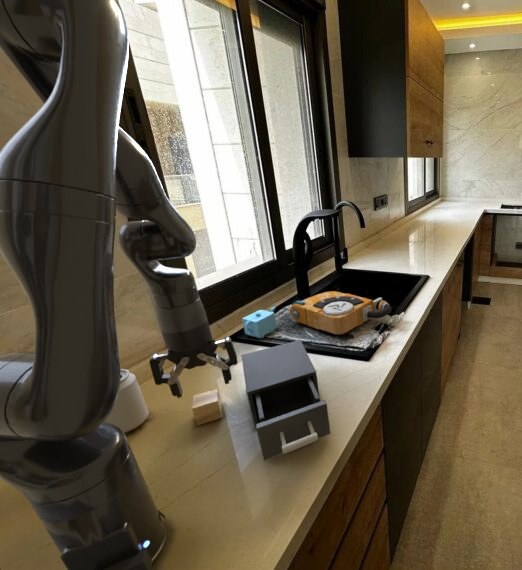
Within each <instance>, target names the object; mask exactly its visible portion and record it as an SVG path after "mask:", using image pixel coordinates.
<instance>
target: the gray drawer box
mask: <svg viewBox="0 0 522 570" xmlns="http://www.w3.org/2000/svg"><path fill="white" fill-rule="evenodd" d="M240 357H241V362H242V368H243V375H244V382H245V390H246V395H247V399H248V404H249V407H250V412H251V416H252V421H253V425H254V428H255V430H257V429H256V424H258V423H260V419H259V414H258V408H257V403H256V397H255V393H258V392H261V391H264V390H268V389H271V388H274V387H277V386H280V385H284V384H287V383H290V382H293V381H296V380H300V379H303V378H306V377H309V376H310V377H311V380H312V382H313V384H314V386H315V389H316V391H317V393H318V395H319V398H320V399H321V397H320V390H319V384H318V377H317V376H318V375H317V370H316V369H315V366H314V364H313V362H312V360H311V357H310V356H309V354H308V352H307V350H306V348H305V345H304V344H303V342H302V340H301V339H298V340H295V341H291V342H286V343H283V344H279V345H275V346H271V347H266V348H263V349H259V350H255V351H251V352H247V353H243V354H241V355H240Z"/></svg>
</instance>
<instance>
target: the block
mask: <svg viewBox="0 0 522 570" xmlns="http://www.w3.org/2000/svg"><path fill="white" fill-rule="evenodd" d="M191 411H192V413H193V416H194V420H195V422H196V425H197V426H200V425H204V424H207V423H210V422H213V421H216V420H219V419H221V418H223V404H222V400H221V397H220V394H219V389H218V388H215V389H211V390H208V391H205V392H202V393H197V394H194V395H193V396H192V403H191Z"/></svg>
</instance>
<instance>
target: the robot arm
mask: <svg viewBox="0 0 522 570" xmlns="http://www.w3.org/2000/svg"><path fill="white" fill-rule="evenodd" d="M129 46H130V45H129V33H128V26H127V21H126V18H125V15H124V12H123V9H122V7H121V5H120V2H119V0H0V50H1V51H2V52H3V54H4V55H5V56H6V58H7V59H8V60H9V61H10V62H11V64H12V65H13V66H14V68H15V69H16V71H18V73H19V74H20V75H21V77H22V78H23V79H24V80H25V82H26V83H27V84H28V86H29V87H30V89H31V90H32V91H33V92H34V94H35V95H36V96H37V97H38V99H39V100H40V101H41V102H42V106H41V107H40V108H39V109H38V110H37V111H36V112H35V114H33V115H32V116H31V117H30V118H29V119H28V120H27V121H26V122H25V123H24V124H23V125H22V127H20V128H19V129H18V130H17V131H16V132H15V133H14V134H13V135H12V137H10V138H9V140H7V142H6V143H5V144H4V145H3V147H2V148H1V149H0V255H1V256H2V257H3V259H4V261H5V262H6V264H7V266H8V267H9V269H10V270H11V272H12V273H13V276H14V277H15V278H16V281H18V283H19V285H20V287H21V288H22V290H23V292H24V294H25V295H26V297H27V299H28V301H29V304H30V307H31V311H32V317H33V323H34V348H33V349H34V350H30V351H29V350H28V351H27V350H26V351H18V352H12V353H7V354H4V355H1V356H0V480H2V481H3V482H4V483H6V484H8V485H10V486H11V487H13V488H15V489H17V490H18V491H20V492H21V493H22V494H23V495H24V497H25V499H26V500H27V501H28V503H29V504H30V505H31V507H32V509H33V510H34V513H36V515H37V517H38V519H39V520H40V522H41V523H42V525H43V527H44V529H45V530H46V531H47V533H48V534H49V536H50V537H51V539H52V541H53V543H54V544H55V546H56V547H57V549H58V550H59V552H60V553H61V554H60V560H61V561H62V563H63V564H64V567H65V568H66V569H67V570H152V568H153V564H154V562H156V560H157V559H158V557H159V556H160V555H161V553H162V551H163V550H164V548H165V547H166V543H167V540H168V528H167V526H166V523H165V522H164V521H163V519H164V520H167V518H166V515H165V514H164V513H163V512H161V511H160V510H159V509H158V507H157V505H156V503H155V500H154V498H153V495H152V494H151V491H150V490H149V486H148V484H147V482H146V480H145V477H144V475H143V473H142V469H141V468H140V466H139V464H138V461H137V458H136V456H135V453H134V452H133V450H132V447H131V445H130V442H129V440H128V437H127V436H126V433H124V432H123V431H122V430H121V429H120V428H119V427H117V426H115V425H113V424H111V423H108V422H106V421H105V420H106V419H107V418H108V416H109V415H110V413H111V412H112V410H113V408H114V406H115V403H116V401H117V398H118V394H119V389H120V379H121V375H120V369H121V362H120V352H119V343H118V334H117V325H116V316H115V315H116V314H115V290H114V289H115V287H114V286H115V278H114V277H115V273H114V272H115V271H114V269H115V268H114V266H115V265H114V254H115V253H114V250H115V236H116V225H117V224H116V223H117V222H116V221H117V220H116V219H117V214H119V215H120V216H122V217H124V218H127V219H133V220H132V221H127V222H125V223H123V224H122V225H121V226H120V227H119V229H118V231H117V242H118V246H119V248H120V249H121V251H122V253H123V254H124V256H125V257H126V259H127V260H128V261H129V262H130V263H131V264H132V266H133V267H134V268H135V269H136V271H137V273H138V274H139V275H140V277H141V279H142V280H143V281H144V282H145V284H146V286H147V289H148V291H149V293H150V296H151V300H152V302H153V305H154V310H155V315H156V320H157V323H158V325H159V326H158V327H159V328H160V332H161V334H162V337H163V340H164V343H165V346H166V349H167V352H166V353H160V354H159V353H158V352H153V353H151V355H150V359H149V361H148V362H149V367H150V370H151V373H152V377H153V380H154V381H153V382H154V384H155V385H156V386H161V385H162V384H167V385H168V387H169V389H170V392H171V395H172V396H173V397H176V398H177V399H180V398H183V392H184V391H183V387H182V385H181V382H180V379H179V377H180V376H181V374H182V372H183V371H184V369H187V370H193V369H194V368H197V367H203V366H207V364H209V365H211V366H213V367H217V368H219V369H221V373H222V377H223V380H224V384H225V385H229V384H230V381H232V378H233V377H232V376H233V375H232V371H231V367H232V366H237V364H238V355H237V352H236V350H235V346H234V343H233V340H232V337H231V336H225V337H224V338H223V339H220V340H217V341H216V340H215V339H214V338H213V336H212V335H213V334H212V331H211V328H210V324H209V320H208V317H207V315H208V314H207V311H206V309H205V306H204V304H203V302H202V300H201V297H200V294H199V290H198V286H197V283H196V279H195V276H194V274H193V272H192V271H190V270H189V269H186V268H179V267H169V266H165V265H163V264H162V263H160V262H159V261H163V260H171V259H172V260H173V259H181V258H182V259H183V258H187V257H189V256H191V255H192V254H193V253H194V252H195V250H196V248H197V238H196V235H195V232H194V230H193V229H192V226H190V224H189V222H188V221H187V220H186V219H185V218H184V217H183V216H182V215H181V214H180V212H179V211H178V210H177V209H176V208H175V206H174V205H173V203H172V202H171V201H170V199H169V198H168V197H167V194H166V192H165V189H164V187H163V185H162V182H161V180H160V178H159V175H158V173H157V171H156V168H155V166H154V164H153V161H152V160H151V159H150V158H149V156H148V154H147V153H146V152H145V150H143V148H142V147H141V146H140V145H139V144H138V143H137V142H136V141H135V140H134V139H133V138H132V137H131V136H130V135H129V134H128V133H127V132H126V131H124V130H123V128H121V127H120V126H119V124H120V116H121V109H122V102H123V96H124V89H125V83H126V79H127V71H128V64H129V63H128V62H129V50H130V49H129ZM218 348H220V349H221V350H223V351H226V354H227V355H228V358H225V357H223V356H222V355H221V354H220V353H218V352H217V350H218ZM167 360H168V361H169V362H171V363H173V367H172V369H171V370H170V372H169V373H168V374H167V373H164V368H163V365H164V364H165V361H167ZM162 518H163V519H162Z"/></svg>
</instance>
